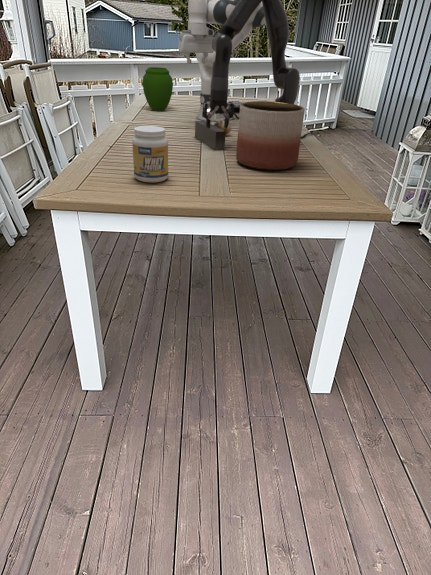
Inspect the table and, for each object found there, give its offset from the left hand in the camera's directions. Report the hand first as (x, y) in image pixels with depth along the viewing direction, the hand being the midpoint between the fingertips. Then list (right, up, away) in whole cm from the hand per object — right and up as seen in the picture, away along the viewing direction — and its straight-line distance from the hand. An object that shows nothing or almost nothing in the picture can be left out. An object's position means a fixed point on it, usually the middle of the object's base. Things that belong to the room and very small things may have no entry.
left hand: (196, 63), depth 205 cm
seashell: (+13, -34, +7) cm, 37 cm away
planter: (+31, -61, -35) cm, 76 cm away
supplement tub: (-13, -73, -58) cm, 95 cm away
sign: (+26, +13, +82) cm, 87 cm away
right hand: (+10, -40, -20) cm, 46 cm away
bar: (+6, -43, -8) cm, 44 cm away
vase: (-28, +4, +63) cm, 69 cm away
